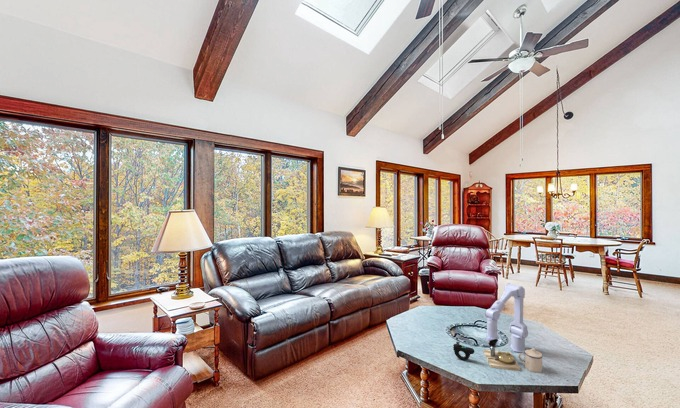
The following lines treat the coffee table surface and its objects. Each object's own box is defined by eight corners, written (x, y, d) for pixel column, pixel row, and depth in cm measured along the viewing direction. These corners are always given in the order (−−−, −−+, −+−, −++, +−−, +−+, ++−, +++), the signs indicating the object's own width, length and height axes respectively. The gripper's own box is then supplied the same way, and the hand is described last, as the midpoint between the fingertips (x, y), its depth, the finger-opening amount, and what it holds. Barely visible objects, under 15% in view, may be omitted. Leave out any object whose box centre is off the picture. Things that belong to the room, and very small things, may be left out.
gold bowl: (511, 356, 187) (511, 345, 187) (515, 364, 178) (515, 352, 178) (488, 354, 190) (488, 343, 190) (492, 361, 181) (492, 350, 181)
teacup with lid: (542, 367, 179) (542, 347, 179) (542, 374, 171) (542, 354, 171) (519, 361, 186) (519, 342, 185) (518, 368, 178) (518, 348, 178)
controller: (454, 355, 193) (454, 339, 193) (474, 361, 186) (474, 344, 186) (452, 358, 190) (452, 342, 189) (473, 364, 183) (473, 347, 182)
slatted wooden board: (483, 351, 197) (483, 349, 197) (510, 354, 193) (510, 352, 193) (490, 367, 179) (490, 364, 179) (520, 371, 175) (520, 368, 175)
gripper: (494, 334, 180) (494, 356, 180) (503, 327, 190) (503, 348, 190) (482, 330, 185) (482, 352, 185) (491, 323, 195) (491, 344, 195)
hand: (492, 350), depth 188 cm, fingers closed
